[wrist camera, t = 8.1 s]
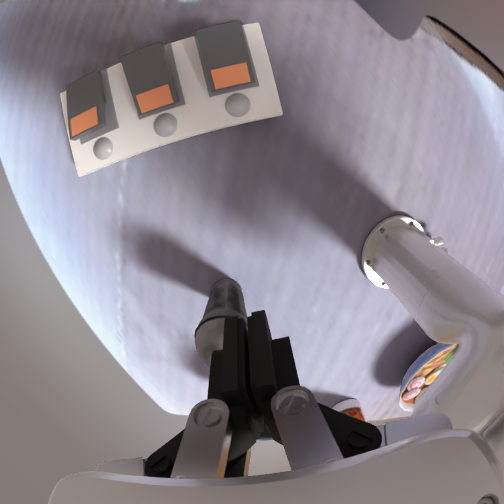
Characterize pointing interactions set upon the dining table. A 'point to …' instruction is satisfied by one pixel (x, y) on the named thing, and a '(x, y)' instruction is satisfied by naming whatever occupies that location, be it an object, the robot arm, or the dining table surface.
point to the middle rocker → (149, 78)
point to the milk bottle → (351, 409)
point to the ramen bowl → (424, 373)
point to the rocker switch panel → (176, 105)
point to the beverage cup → (218, 317)
